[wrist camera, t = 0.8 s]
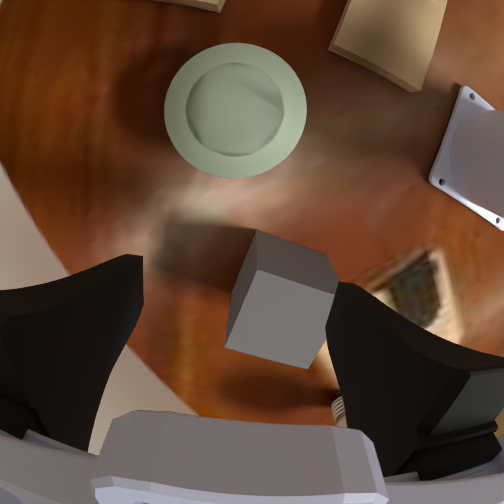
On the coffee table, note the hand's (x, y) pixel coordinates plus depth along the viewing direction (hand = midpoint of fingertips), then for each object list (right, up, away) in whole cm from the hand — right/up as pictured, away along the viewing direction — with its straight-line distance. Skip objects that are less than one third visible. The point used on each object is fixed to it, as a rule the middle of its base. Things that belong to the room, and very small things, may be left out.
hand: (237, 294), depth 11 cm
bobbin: (0, +10, +6) cm, 12 cm away
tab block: (+2, 0, +10) cm, 11 cm away
